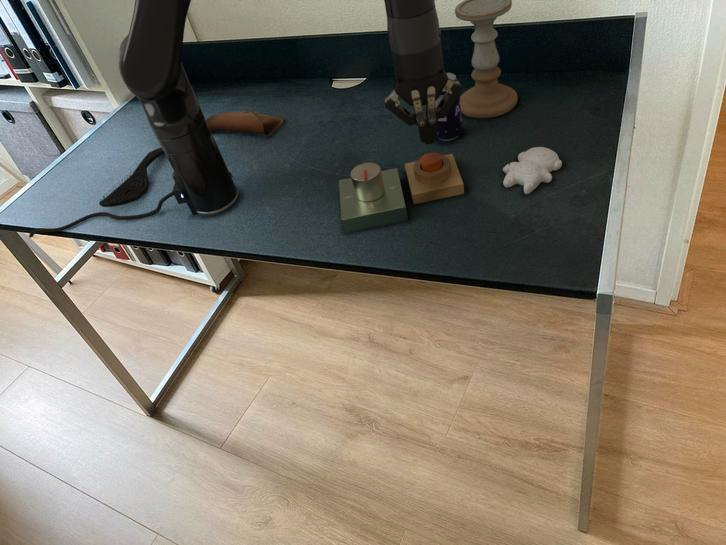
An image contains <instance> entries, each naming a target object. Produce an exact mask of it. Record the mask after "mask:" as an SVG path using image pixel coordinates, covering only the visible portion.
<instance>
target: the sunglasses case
mask: <svg viewBox="0 0 726 545" xmlns="http://www.w3.org/2000/svg"><path fill="white" fill-rule="evenodd" d="M206 122H207V124H208V126H209V128H210V130H211V133H213V132H216V133H217V132H218V133H219V132H225V133H226V132H229V133H243V134H250V135H260V136H267V137H271V136H272V135H273V134H274V133H276V131H277V130H279V128H280V127H281V125H282V124H283V123H284V119H283V118H280V117H278V116H273V115H269V114H263V113H254V111H249V110H238V111H236V110H235V111H226V112H221V113H217V114H213V115H211V116H209V117H208V118H207V119H206Z"/></svg>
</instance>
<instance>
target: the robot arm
mask: <svg viewBox="0 0 726 545" xmlns="http://www.w3.org/2000/svg"><path fill="white" fill-rule="evenodd" d="M191 2H192V0H134V7H133V13H132V18H131V22H130V27H129V31H128V34H127V35H126V36H125V37H124V38H123V39H122V41H121V43H120V46H119V49H118V71H119V74H120V77H121V80H122V82H123V83H124V85H125V87H126V88H127V89H128V91H129V92H130V93H131V94H132V95H133V96H135V97H137V98H138V100H139V102H140V105H141V107H142V109H143V112H144V114H145V116H146V119H147V122H148V125H149V127H150V129H151V131H152V132H153V135H154V136H155V138H156V140H157V142H158V144H159V145H160V148H161V147H162V149H163V151H164V153H165V156H166V158H167V161H168V162H169V165H170V166H171V168H172V170H173V172H172V175H171V176H172V180H173V181H174V185H173V187H172V191H171V192H169V193H167V194H166V195H164V196H163V197H162V198H161V199H160V200H159V201H158V203H157V206H156V208H155V209H153V210H152V211H149V212H146V213H141V214H134V215H116V214H113V213H109V212H105V211H99V212H94V213H91V214H88V215H84V216H83V217H80V218H78V219H76V220H74V221H73V222H70V223H68V224H65V225H63V226H59V227H52V228H51V227H47V228H46V227H39V228H35V229H33V230H31V231H30V233H29V235H28V238H33V237H34V236H35V234H37V233H57V232H61V231H65V230H69V229H70V228H73V227H74V226H76V225H78V224H80V223H83V222H85V221H87V220H89V219H92V218H97V217H106V218H107V217H108V218H111V219H113V220H118V221H127V220H140V219H144V218H148V217H151V216H154V215H157V213H159V212H160V211H161V209H162V206H163V204H164V203H165V202H166V201H167V200H169V199H170V198H172V197H174V198H175V200H176V202H177V204H178V205H183V204H186V205H187V207H188V209H189V210H190V212H191V214H192V216H200V217H214V216H218V215H221V214H223V213H226V212H227V211H229V210H230V209H232V208H233V207H234V206H235V205H236V204H237V203H238V201H239V200H240V191H239V190H238V187H237V186H236V184H235V181H234V179H233V178H234V177H233V174H232V172H230V170H229V168H228V166H227V164H226V162H225V159H224V157H223V155H222V152H221V151H220V149H219V146H218V144H217V141H216V139H215V137H214V134H213V132H211V130H210V128H209V126H208V124H207V122H206V120H207V119H206V117H205V115H204V113H203V110H202V109H201V106H200V103H199V100H198V98H197V95H196V93H195V90H194V88H193V86H192V84H191V81H190V79H189V77H188V75H187V72H186V70H185V68H184V65H183V63H182V58H183V46H184V36H185V27H186V21H187V17H188V12H189V9H190V5H191ZM383 3H384V8H385V13H386V26H387V27H386V29H387V37H388V45H389V47H390V53H391V59H392V60H391V61H392V66H393V72H394V78H395V79H394V83H393V90H392V92H390V94H387V95H384V97H383V102H384V105H385V108H386V110H388V111H389V112H391V113H392V114H393V115H394V116H396V117H397V118H398V119H400V120H401V121H402V122H404V124H406V125H407V126H409V127H412V126H417V128H418V135H419V139H420V142H421V143H424V144H425V146H427V145H431V144H432V145H433V144H435V140H437V139H438V138H437V130H436V121H437V120H438V119H440V118H445V117H446V115H447V113H448V112H449V110H450V109H451V107H452V105H453V104H454V102H455V101H456V99H457V97H458V96H459V94H461V93H462V92H463V86H462V84H461V82H460V79H459V80H458V79H457V78H456V79H454V80H452V79H450V78H448V76H447V73H448V72H446V70H445V66H444V58H443V50H442V49H443V47H442V40H441V36H442V33H441V28H440V21H439V16H438V12H437V8H436V0H383ZM445 86H446V87H445ZM444 87H445V91H446V92H445V94H444V96H443V97H442V99H441V101H440V102H439V104H438V106H437V107H436V105H435V101H437V100H438V98H439V96H440V95H441V93H442V91H443V89H444ZM400 98H401V100H402V101H404V102H405V103H406V104H407V105H408V106H410V107H412V108H413V110H414V113H412V112H411V111H409V109H407V108H406V107H405V106H403V105H402V104H401V100H400ZM423 106H424V107H425V115H424V109H423ZM425 116H426V119H425Z"/></svg>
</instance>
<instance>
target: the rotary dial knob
mask: <svg viewBox="0 0 726 545" xmlns="http://www.w3.org/2000/svg"><path fill="white" fill-rule="evenodd" d="M381 171H382V169H381V166H380V165H379V164H377V163H375V162H363V163H360V164H358V165H356V166H355V167H353V168H352V169H351V171H350V175H349V176H350V178H351V179H352V183H353V187H354V190H355V194H356V197H357V199H359V200H361V201H365V202H368V201H374V200H376V199H378V198H380V197H381V196H382V195H383V194H384V192H385V188H384V183H383V178H382V174H381Z"/></svg>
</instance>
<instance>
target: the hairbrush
mask: <svg viewBox="0 0 726 545" xmlns="http://www.w3.org/2000/svg"><path fill="white" fill-rule="evenodd" d="M164 154H165V153H164V151H163V149H162V147H161V146H160V147H158V148H155V149H153V150H152V151H149V152H148V153H147V154H146V155H145V156H144V157H143V159H142V160H141V162H140V163H139V164H138V165H137V166H136V168H135V170H132V171H130V172H129V173H130V175H128V174H126V175H125V176H126V177H125V176H124V179H125V180H124V181H123V179H121V181H120V180H119V182H118V183H119V185H118V183H117V184H116V185H117V187H116V186H114V187H115V189H114V187H112V189H110V190H108V191H107V193H109V194H105V195H103V196H102V199H101V200H100V201H99V202H98V204H99V206H100V207H102V208H112V207H117V206H118V207H119V206H124V205H127V204H130V203H133V202H136V201H139V200H140V199H141V198H142V197H144V195H145V194H146V193H148V191H149V186H150V181H149V177H148V170H147V169H148V167H149V166H150V165H151V164H152V163H153V162H154V161H155V160H157V159H158V158H160V157H162V156H163V155H164ZM131 173H132V174H131ZM121 182H122V183H121Z"/></svg>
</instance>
